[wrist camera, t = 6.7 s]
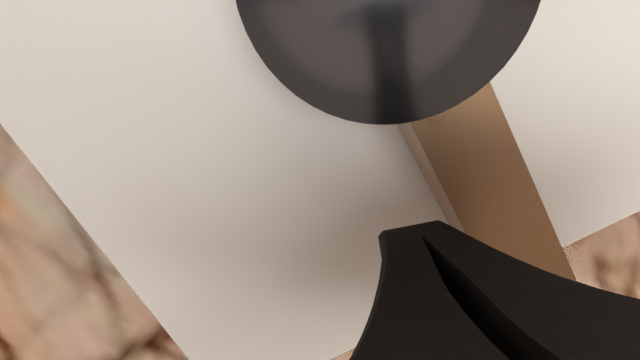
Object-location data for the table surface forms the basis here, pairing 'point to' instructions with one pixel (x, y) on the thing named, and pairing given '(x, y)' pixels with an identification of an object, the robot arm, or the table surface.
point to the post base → (284, 160)
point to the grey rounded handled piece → (422, 98)
